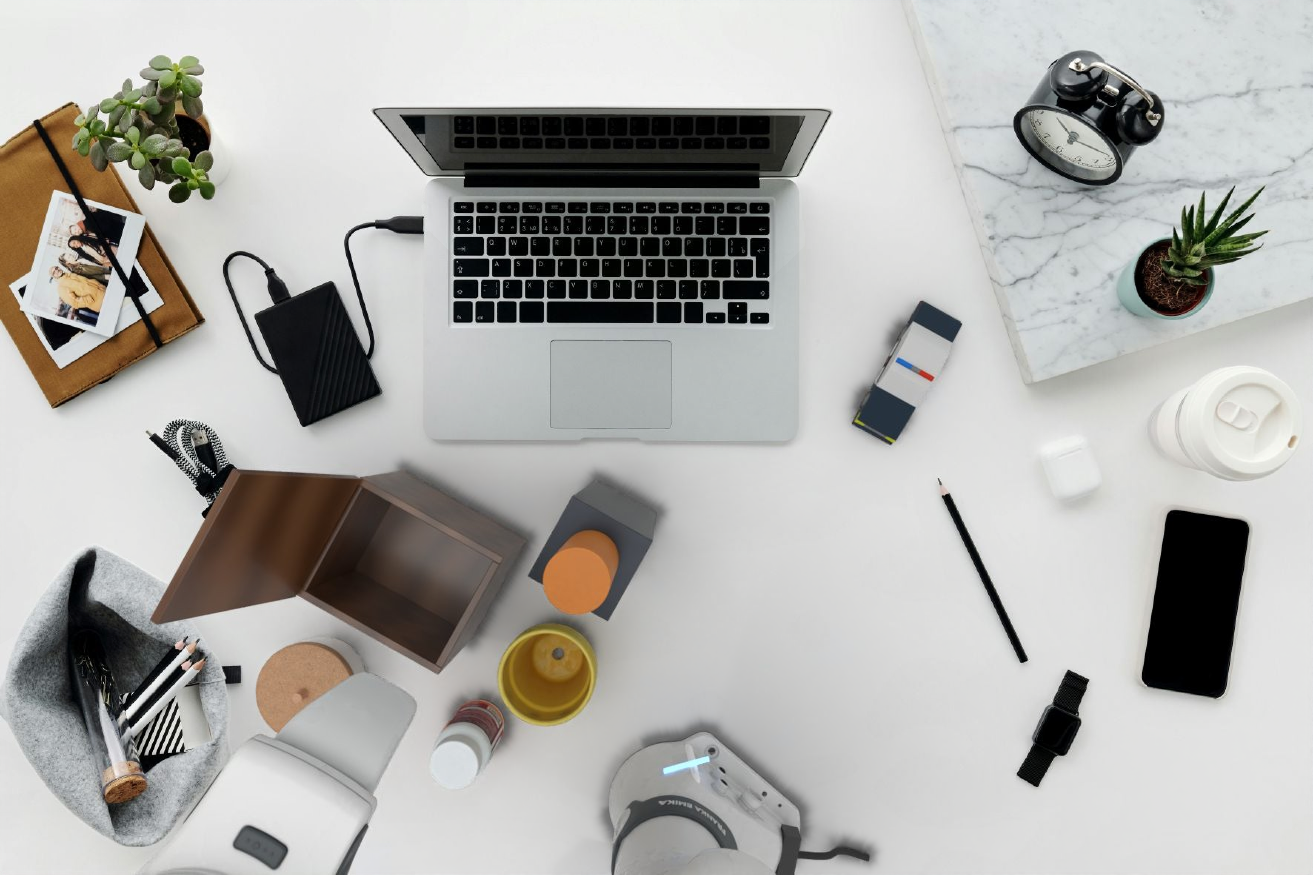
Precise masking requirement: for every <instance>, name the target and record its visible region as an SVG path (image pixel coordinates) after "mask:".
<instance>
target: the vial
mask: <svg viewBox="0 0 1313 875" xmlns="http://www.w3.org/2000/svg"><path fill="white" fill-rule="evenodd" d="M618 563H619V555H618V550H617V548H616V546H615V544H614V542H613V541H612V540H611V539H610V538H609V537H608V536H607V535H605V534H603V533H601V532H599V531H594V530H585V531H581V532H578V533H576V534H575V535H573V536H572V537H571V538H570V539H569V540H568V541H567V542H566V543H565V544H564V545H563V546H562V547H561V548H560V549H559V551H558V552H557V553H556V554H555V555H554V556H553V557H552V558H551V560H550V561H549V562H548V564H547V566H546V568H545V571H544V574H543V585H542V587H543V591H544V594H545V596H546V598H547V599H548V601H549V602H550V604H551V605H552V606H553V607H554V608H555V609H556V610H559V611H560V612H563V613H565V614H568V615H574V616H580V615H586V614H589V613H592V612H591V611H593V610H595V609H596V608H598V607H599V606H600V605H601V604H602V603H603V602H604V600H605V599H606V597H607V595H608V593H609V590H610V587H611V584H612V582H613V579H614V576H615V573H616V571H617V568H618Z"/></svg>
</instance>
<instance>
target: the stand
mask: <svg viewBox="0 0 1313 875" xmlns="http://www.w3.org/2000/svg"><path fill="white" fill-rule="evenodd" d="M656 519H657V512H656V511H655V510H654V509H652V508H650V507H648V506H646V505H644V504H642V503H641V502H639V501H637V500H636V499H634V498H632V497H631V496H628V495H627V494H625V493H623V492H621V491H619V489H616V488H614V487H612V486H611V485H609V484H607V483H606V482H604V481H602V480H600V479H597V478H596V479H594V481H592V482H591V483H589V484H588V485H587V486H585V487H584V488H582V489H581V490H579V491H578V492H576V493H575V494H573V495H572V496H571V497H570V499H569V501H568V503H567V504H566V506H565V508H564V510H563V512H562V513H561V515H560V517H559V519H558V521H557V522H556V524H555V526H554V528H553V529H552V531H551V533H550V535H549V537H548V538H547V540H546V542H545V544H544V545H543V547H542V549H541V551H540V552H539V555H538V557H537V559H536V560H535V562H534V563H533V565H532V567H531V568H530V571H529V572H528V574H527V577H528V578H529V579H531V580H533V581H535V582H537V583H538V584H540V585H541V586H543V574H544V571H545V568H546V566H547V564H548V562H549V561H550V560H551V558H552V557H553V556H554V555H555V554H556V553H557V552H558V551H559V549H560V548H561V547H562V546H563V545H564V544H565V543H566V542H567V541H568V540H569V539H570V538H571V537H572V536H573V535H575V534H576V533H578V532H581V531H585V530H594V531H599V532H601V533H603V534H605V535H607V536H608V537H609V538H610V539H611V540H612V541H613V542H614V544H615V546H616V548H617V550H618V555H619V563H618V568H617V571H616V573H615V576H614V579H613V582H612V584H611V587H610V590H609V593H608V595H607V597H606V599H605V600H604V602H603V603H602V604H601V605H600V606H599V607H598V608H596V609H595V610H593V611H591V612H590V613H592V614H593V615H595V616H597V617H598V618H600V619H603V620H604V621H606V622H609V621H610V619H611V617H612V615H613V614H614V611H615V610H616V608H617V607H618V604H619V603H620V601H621V599H622V598H623V596H624V594H625V592H626V590H627V589H628V586H629V585H630V583H631V581H632V579H633V578H634V576H635V574H636V572H637V570H638V569H639V567H640V565H641V564H642V562H643V560H644V558H645V556H646V555H647V552H648V551H649V549H650V548H651V546H652V544H653V542H654V534H655V527H656V526H655V525H656V521H657V520H656Z"/></svg>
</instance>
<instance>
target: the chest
mask: <svg viewBox="0 0 1313 875" xmlns="http://www.w3.org/2000/svg"><path fill="white" fill-rule="evenodd" d="M359 478H360V479H361V480H360V481H359V483H358V485H357V487H356V489H355V490H354V492H353V494H352V496H351V498H350V500H349V501H348V503H347V505H346V507H345V509H344V510H343V512H342V514H341V516H340V518H339V519H338V521H337V523H336V525H335V527H334V528H333V530H332V532H331V534H330V536H329V537H328V539H327V541H326V543H325V545H324V546H323V548H322V550H321V552H320V554H319V555H318V557H317V559H316V561H315V563H314V564H313V566H312V568H311V570H310V572H309V574H308V575H307V577H306V579H305V581H304V583H303V584H302V586H301V588H300V590H299V592H298V593H297V595H296V597H299V598H301V599H302V600H305V601H306V602H307V603H309V604H312V605H313V606H315V607H317V608H318V609H320V610H322V611H324V612H326V613H327V614H329V615H331V616H332V617H334V618H336V619H338V620H339V621H342V622H343V623H345V624H347V625H349V626H350V627H352V628H354V629H355V630H358V631H359V632H361V633H363V634H365V635H366V636H367V637H370V638H372V639H374V640H375V641H377V642H379V643H381V644H383V645H384V646H386V647H388V648H389V649H391V650H393V651H395V652H397V653H398V654H400V655H402V656H404V657H406V658H407V659H409V660H411V661H412V662H414V663H416V664H418V665H420V666H421V667H423V668H424V669H427V670H428V671H430V672H432V673H434V674H436V675H440V674H441V672H443V671H444V669H446V667H447V666H448V665H449V664H450V663H451V662H452V661H453V660H454V659H455V658H456V657H457V656H458V654H460V653H461V651H462V650H463V649H464V648H465V647H466V646H467V645H468V644H469V643H470V641H472V639H473V638H474V636H475V634H476V632H477V630H478V629H479V627H480V625H481V624H482V621H483V619H484V618H485V615H486V614H487V612H488V610H489V608H491V606H492V604H493V603H494V600H495V599H496V596H497V595H498V593H499V591H500V589H501V587H502V585H503V584H504V582H505V580H506V579H507V576H508V575H509V573H510V571H511V569H512V567H513V566H514V564H515V562H516V560H517V559H518V557H519V555H520V553H521V551H522V550H523V548H524V546H525V544H526V542H527V541H528V539H527V538H526V537H524V536H522V535H520V534H519V533H517V532H515V531H513V530H512V529H510V528H508V527H507V526H504V525H503V524H501V523H499V522H497V521H496V520H494V519H492V518H490V517H488V516H487V515H485V514H484V513H481V512H480V511H478V510H476V509H474V508H472V507H470V506H468V505H467V504H465V503H463V502H462V501H460V500H458V499H456V498H455V497H453V496H451V495H450V494H448V493H446V492H444V491H442V490H441V489H438V488H437V487H435V486H433V485H432V484H430V483H428V482H426V481H424V480H422V479H421V478H419V477H417V476H415V475H413V474H411V473H410V472H408V471H407V470H399V471H398V470H397V471H392V472H385V473H379V474H378V473H377V474H373V475H372V474H371V475H365V476H360V477H359Z"/></svg>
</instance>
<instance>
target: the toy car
mask: <svg viewBox="0 0 1313 875" xmlns="http://www.w3.org/2000/svg"><path fill="white" fill-rule="evenodd" d="M962 326H963V322H962V321H961V320H959V319H957V318H956V317H953V316H952V315H950V314H948V313H946V312H945V311H942V310H941V309H939V308H937V307H935V306H934V305H932V304H929V303H928V302H926V301H924V300H920V301H919V302H918V304H917V305H916V307H915V309H914V311H913V312H912V314H911V315H910V317H909V319H908V321H907V324H906V325H905V326H904V327H903V329H902V330H901V331H900V333H899V335H898V337H897V340H896V343H895V345H894V346H893V348H892V350H891V352H890V354H889V355H888V357H887V359H886V361H885V362H884V364H883V366H882V368H881V369H880V371H879V373H878V375H877V377H876V378H875V380H874V382H873V384H872V386H871V388H870V389H869V390H870V391H868V392H867V394H866V395H865V396H864V398H863V400H862V401H861V404H860V406H859V409H858V410H857V412H856V414H855V416H854V418H853V420H852V421H851V425H853V426H854V427H856V428H858V429H860V430H861V431H863V432H865V433H867V434H869V435H871V436H872V437H874V438H876V439H878V440H880V441H881V442H884V443H885V444H887V445H889V446H892V445H893V444H894V443H895V442H896V441H897V440H898V439H899V437H900V436H901V434H902V433H903V430H904V429H905V427H906V426H907V424H908V422H909V421H910V419H911V417H912V415H913V414H914V412H915V411H916V408H917V407H918V405H920V403H921V402H922V401H923V399H924V398H925V397H926V395H927V394H928V393H929V392H930V389H931V388H932V386H933V385H934V384H935V382H936V380H937V378H938V376H939V374H940V373H941V371H942V369H943V368H944V365H945V363H946V361H947V359H948V357H949V356H950V353H951V350H952V347H953V344H954V341H955V340H956V337H957V336H958V333H959V332H960V330H961V328H962Z"/></svg>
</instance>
